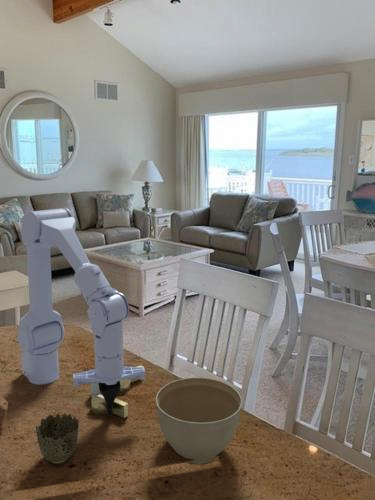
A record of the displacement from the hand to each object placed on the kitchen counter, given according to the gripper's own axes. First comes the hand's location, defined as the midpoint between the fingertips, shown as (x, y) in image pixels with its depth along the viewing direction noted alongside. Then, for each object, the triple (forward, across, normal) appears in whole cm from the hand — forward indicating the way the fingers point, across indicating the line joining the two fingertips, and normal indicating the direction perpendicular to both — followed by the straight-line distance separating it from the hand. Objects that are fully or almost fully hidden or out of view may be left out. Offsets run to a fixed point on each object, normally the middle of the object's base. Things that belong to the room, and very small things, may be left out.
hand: (110, 412), depth 96 cm
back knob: (+1, +5, +13) cm, 15 cm away
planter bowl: (+2, +16, -13) cm, 20 cm away
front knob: (+1, 0, +2) cm, 3 cm away
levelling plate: (+2, -1, +10) cm, 10 cm away
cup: (+3, -10, -11) cm, 15 cm away
